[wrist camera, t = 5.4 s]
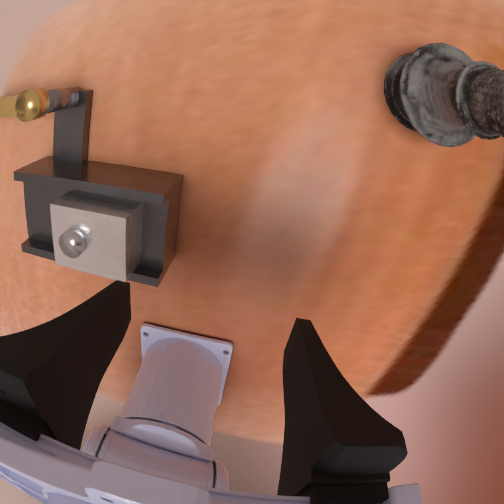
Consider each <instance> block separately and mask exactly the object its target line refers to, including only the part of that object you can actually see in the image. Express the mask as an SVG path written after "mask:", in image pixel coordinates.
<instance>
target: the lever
mask: <svg viewBox="0 0 504 504" xmlns="http://www.w3.org/2000/svg"><path fill="white" fill-rule="evenodd" d="M49 105H50V98H49V95H48V93H47V92H46V91H45V90H44V89H41V88H39V89H32V90H25V91H23V92H22V93H21V94H20V95H14V96H5V97H0V118H3V117H18V118H19V119H20V120H21V121H23V122H27V121H31V120H35V119H38V118H42V117H43V116H44V115H45V114H46V113H47V111H48V109H49Z"/></svg>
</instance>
